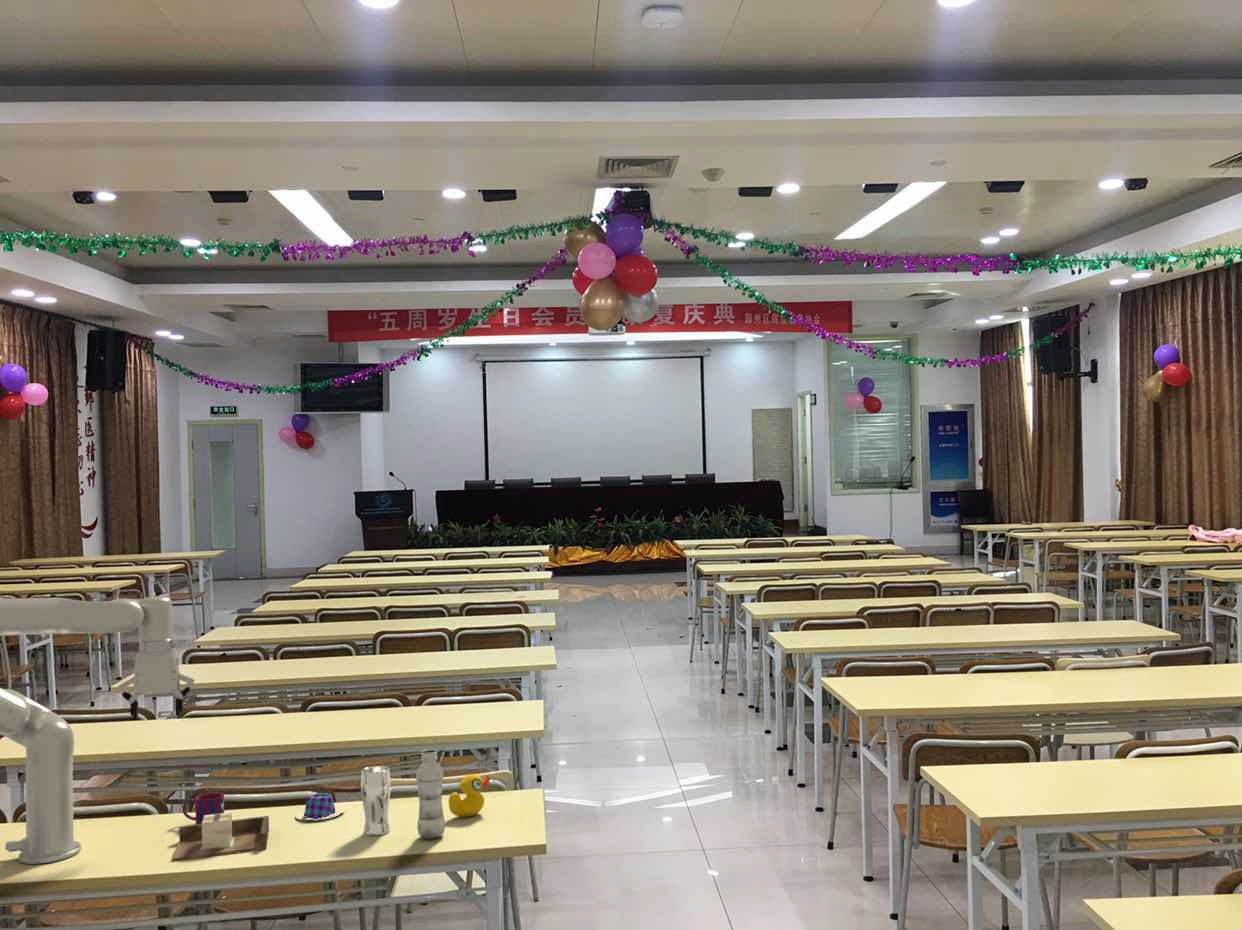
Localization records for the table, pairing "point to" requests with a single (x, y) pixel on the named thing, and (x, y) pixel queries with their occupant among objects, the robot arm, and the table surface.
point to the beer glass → (376, 799)
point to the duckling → (469, 796)
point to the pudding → (319, 806)
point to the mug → (206, 805)
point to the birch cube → (216, 830)
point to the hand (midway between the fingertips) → (157, 716)
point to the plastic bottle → (430, 796)
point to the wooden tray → (244, 837)
